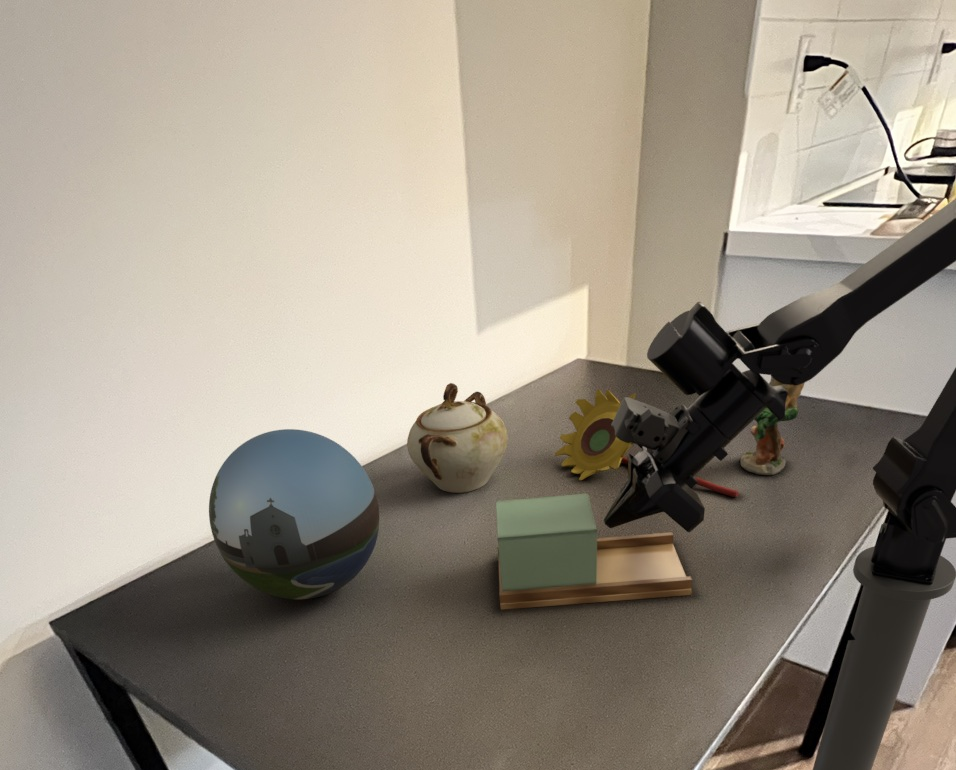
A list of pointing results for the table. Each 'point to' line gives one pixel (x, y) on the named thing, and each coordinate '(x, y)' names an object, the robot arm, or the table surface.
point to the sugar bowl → (458, 442)
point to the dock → (616, 575)
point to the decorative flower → (603, 441)
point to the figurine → (771, 436)
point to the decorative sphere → (294, 514)
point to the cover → (546, 542)
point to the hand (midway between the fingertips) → (606, 524)
